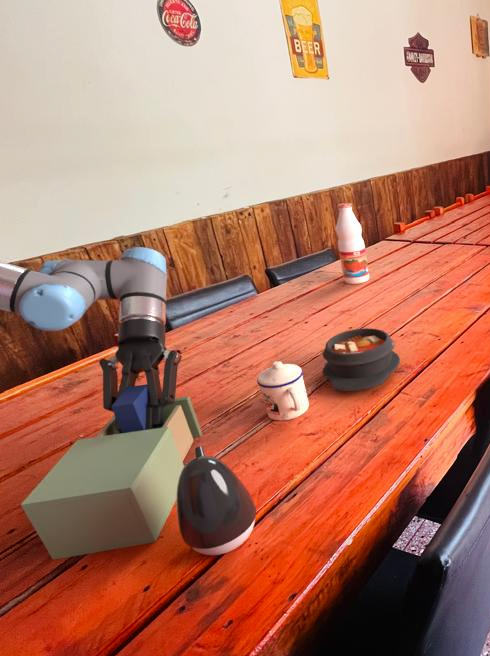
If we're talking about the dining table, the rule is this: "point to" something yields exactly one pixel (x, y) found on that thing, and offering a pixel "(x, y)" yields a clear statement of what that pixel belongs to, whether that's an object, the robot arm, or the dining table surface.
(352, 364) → the casserole
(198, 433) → the drawer
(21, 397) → the dining table surface
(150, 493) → the cabinet
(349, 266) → the fruit juice
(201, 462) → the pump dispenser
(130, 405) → the rectangular block
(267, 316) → the dining table surface
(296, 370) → the teacup with lid
